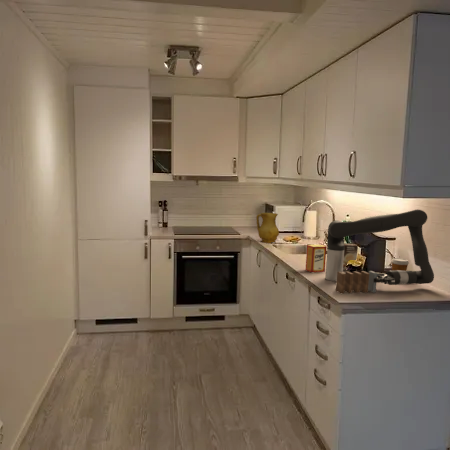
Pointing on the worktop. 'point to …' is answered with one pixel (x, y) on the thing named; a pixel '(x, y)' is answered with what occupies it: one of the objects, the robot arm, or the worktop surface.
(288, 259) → the worktop surface
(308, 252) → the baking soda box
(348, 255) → the coffee box
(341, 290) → the domino
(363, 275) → the domino
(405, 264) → the disposable coffee cup
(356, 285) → the domino
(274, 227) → the pitcher
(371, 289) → the domino
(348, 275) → the domino
